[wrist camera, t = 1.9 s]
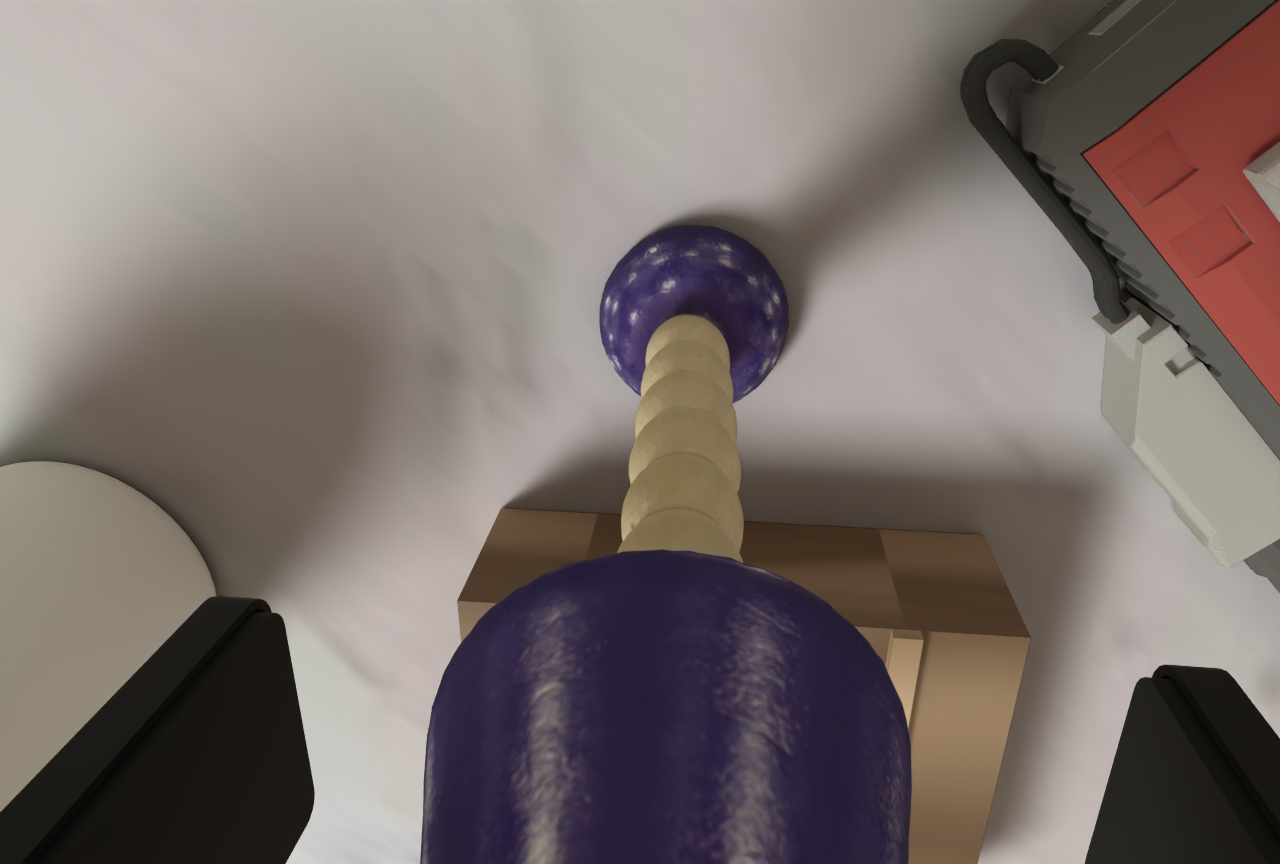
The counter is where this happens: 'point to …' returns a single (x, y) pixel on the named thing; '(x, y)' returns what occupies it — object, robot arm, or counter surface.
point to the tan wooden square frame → (881, 611)
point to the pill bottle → (80, 602)
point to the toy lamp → (672, 638)
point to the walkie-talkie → (1169, 237)
